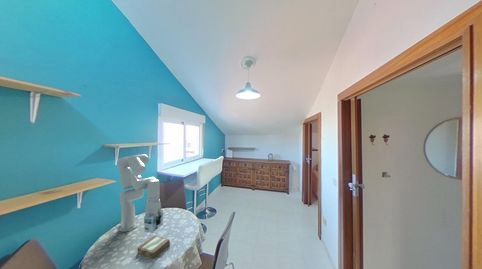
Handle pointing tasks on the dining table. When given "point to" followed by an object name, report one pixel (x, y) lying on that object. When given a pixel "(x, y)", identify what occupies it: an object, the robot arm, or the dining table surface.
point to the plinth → (153, 247)
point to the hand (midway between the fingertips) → (153, 223)
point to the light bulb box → (151, 223)
